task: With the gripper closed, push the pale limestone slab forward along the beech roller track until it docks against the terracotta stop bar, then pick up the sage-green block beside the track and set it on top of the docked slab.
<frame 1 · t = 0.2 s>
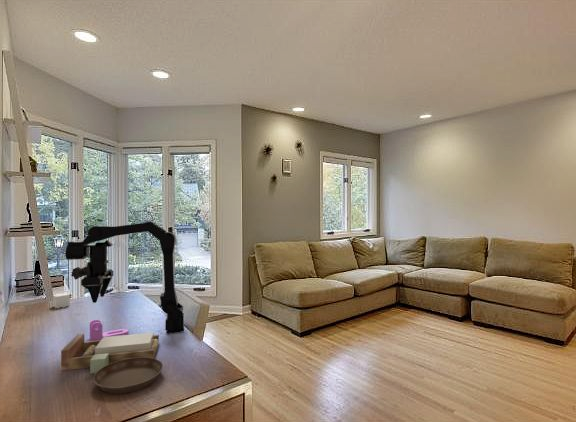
hand: (98, 299, 127), 15 cm above the table, tool pointing down, fingers open, 9 cm apart
roller track: (117, 355, 111), on the table
plant saucer: (129, 381, 94), on the table
bracket: (109, 337, 128), on the table
block: (99, 369, 101), on the table
slab: (126, 347, 111), point 2 cm above the table, touching roller track
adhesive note: (61, 306, 171), on the table
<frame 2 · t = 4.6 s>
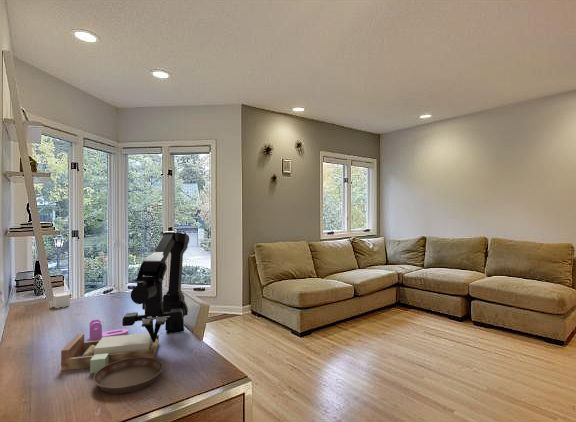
hand: (154, 342, 114), 3 cm above the table, tool pointing down, fingers closed
slab: (125, 347, 111), point 2 cm above the table, touching gripper, roller track
everything else where it was.
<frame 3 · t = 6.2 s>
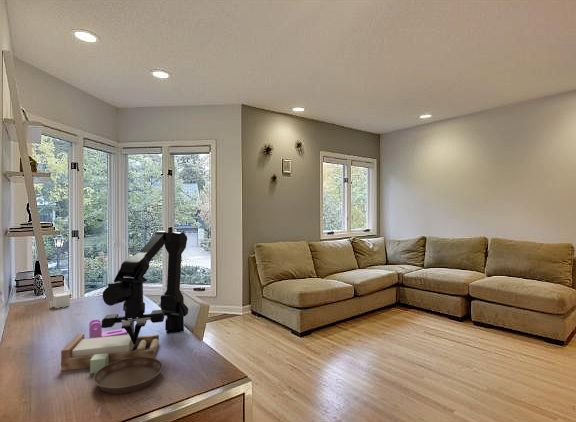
hand: (134, 343, 112), 3 cm above the table, tool pointing down, fingers closed
slab: (104, 349, 110), point 2 cm above the table, touching gripper, roller track
everything else where it was.
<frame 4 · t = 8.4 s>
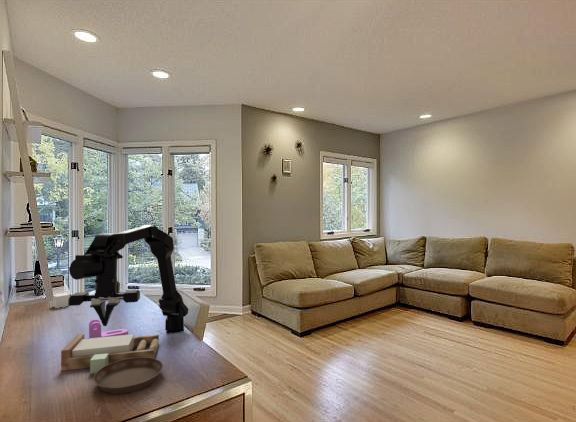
hand: (105, 325, 102), 13 cm above the table, tool pointing down, fingers closed
slab: (104, 349, 110), point 2 cm above the table, touching roller track
everything else where it was.
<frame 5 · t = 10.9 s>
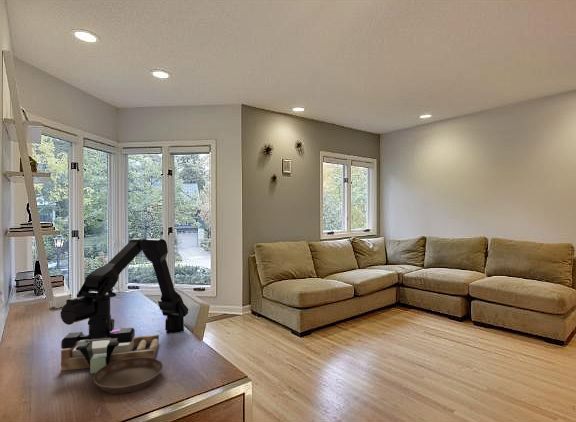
hand: (99, 366, 101), 1 cm above the table, tool pointing down, fingers closed on block, 4 cm apart
block: (99, 369, 101), on the table, touching gripper
everything else where it was.
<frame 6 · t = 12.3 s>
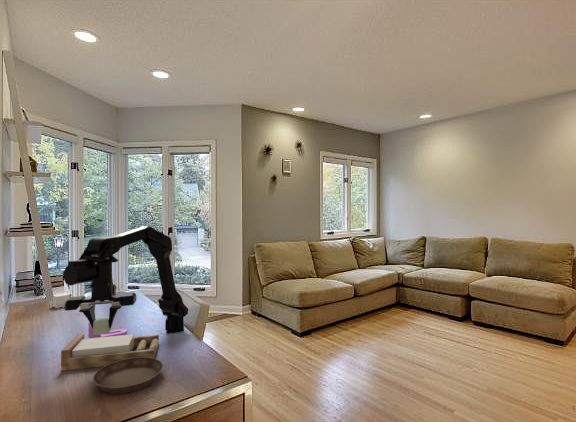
hand: (102, 328, 103), 12 cm above the table, tool pointing down, fingers closed on block, 4 cm apart
block: (102, 332, 103), point 10 cm above the table, touching gripper
everything else where it was.
when the fingers open (7 cm above the table, at t = 13.9 s): block drops 1 cm, resting on slab.
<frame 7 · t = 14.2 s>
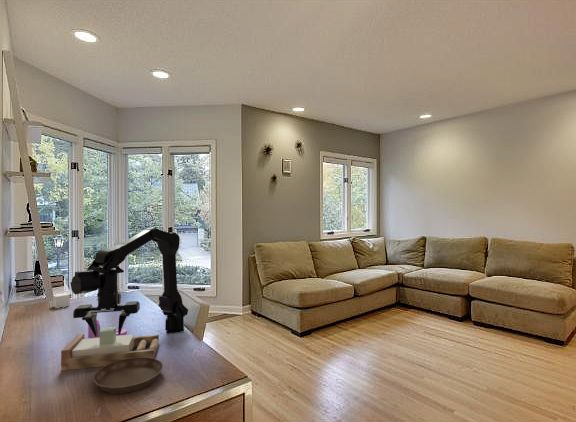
hand: (107, 335, 110), 7 cm above the table, tool pointing down, fingers open, 7 cm apart
block: (108, 341, 110), point 5 cm above the table, touching slab
slab: (104, 349, 110), point 2 cm above the table, touching block, roller track
everything else where it was.
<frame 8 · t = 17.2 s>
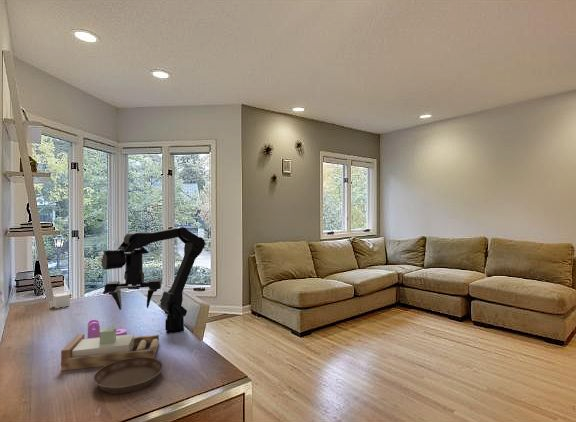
hand: (134, 308, 123), 12 cm above the table, tool pointing down, fingers open, 9 cm apart
nothing on the table moved.
at the end: slab 0.4 cm from the target spot, point 2.4 cm above the table; slab tilted 0°; block inside the target area on the slab (0.9 cm from its centre), point 2.5 cm above the slab's base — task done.
